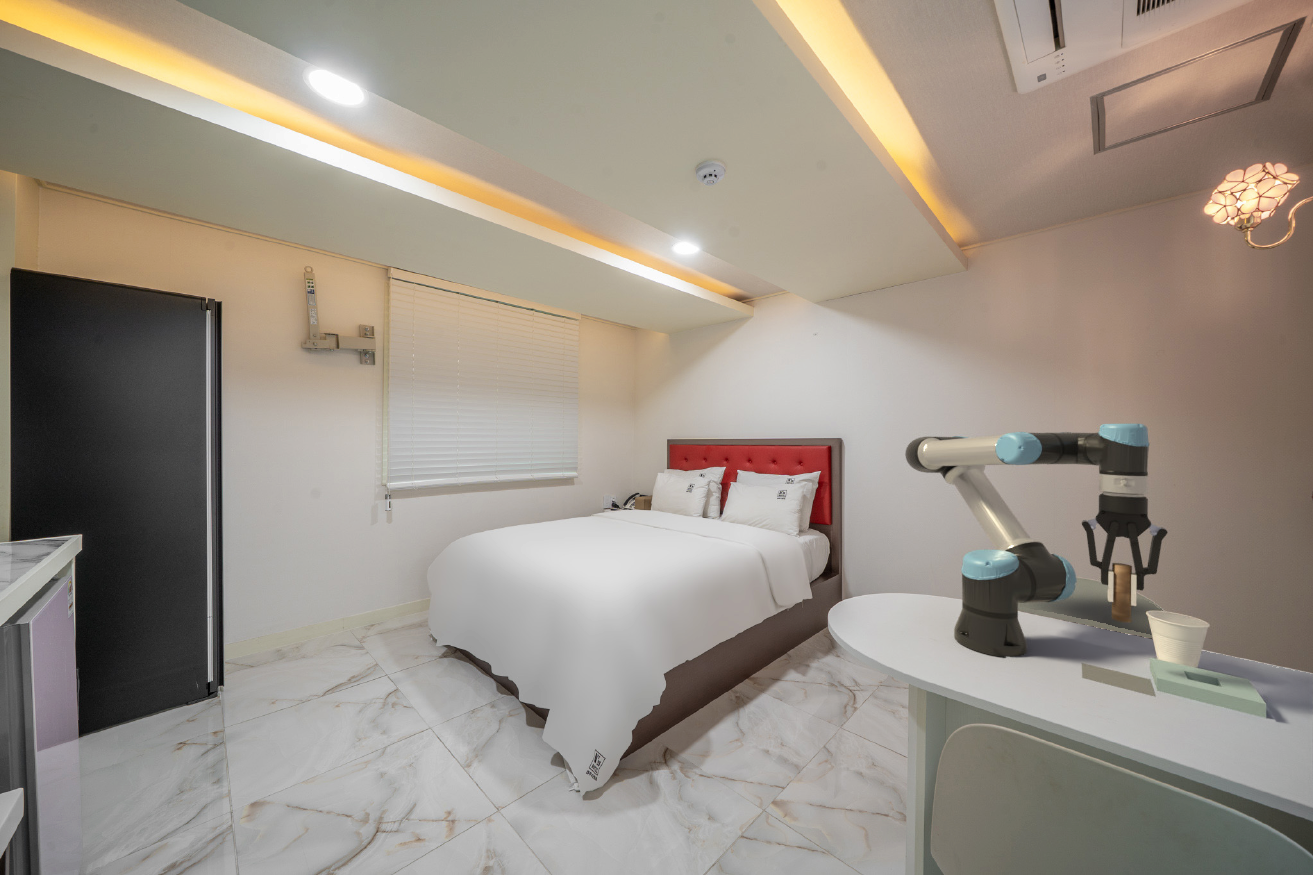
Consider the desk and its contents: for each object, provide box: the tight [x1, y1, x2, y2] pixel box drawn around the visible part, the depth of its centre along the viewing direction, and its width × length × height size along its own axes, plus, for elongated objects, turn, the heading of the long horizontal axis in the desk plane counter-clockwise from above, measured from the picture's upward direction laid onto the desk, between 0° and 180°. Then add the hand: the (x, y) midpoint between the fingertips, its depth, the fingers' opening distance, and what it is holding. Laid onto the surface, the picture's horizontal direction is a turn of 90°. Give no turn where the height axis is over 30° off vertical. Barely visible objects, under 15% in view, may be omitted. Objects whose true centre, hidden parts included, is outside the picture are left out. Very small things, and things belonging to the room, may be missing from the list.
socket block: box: [1149, 657, 1267, 719], centre depth 96 cm, size 14×12×3 cm
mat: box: [1081, 662, 1156, 698], centre depth 101 cm, size 11×9×1 cm
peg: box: [1111, 562, 1133, 624], centre depth 101 cm, size 3×3×12 cm
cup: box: [1145, 610, 1211, 668], centre depth 108 cm, size 10×10×11 cm
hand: (1121, 601), depth 101 cm, fingers closed on peg, 3 cm apart
